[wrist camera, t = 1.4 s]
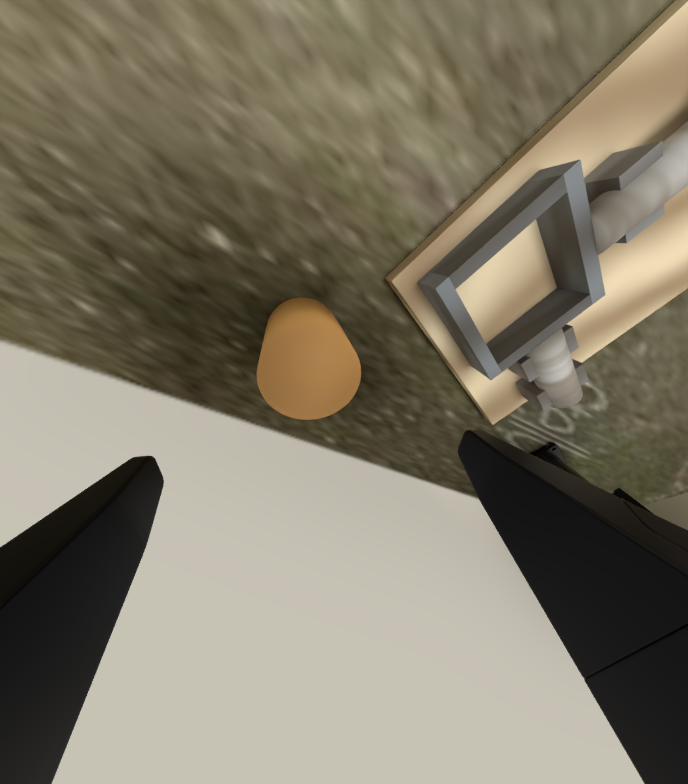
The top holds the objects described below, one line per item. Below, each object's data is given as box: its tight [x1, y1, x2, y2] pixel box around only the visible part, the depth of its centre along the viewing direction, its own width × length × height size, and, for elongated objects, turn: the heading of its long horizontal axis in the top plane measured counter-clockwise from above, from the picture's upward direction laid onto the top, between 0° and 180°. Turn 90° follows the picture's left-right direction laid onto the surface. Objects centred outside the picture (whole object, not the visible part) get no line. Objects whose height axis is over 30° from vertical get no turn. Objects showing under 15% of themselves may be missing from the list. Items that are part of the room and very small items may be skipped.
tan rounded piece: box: [257, 297, 361, 420], centre depth 14 cm, size 5×5×6 cm
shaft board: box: [385, 0, 688, 425], centre depth 16 cm, size 16×20×4 cm
